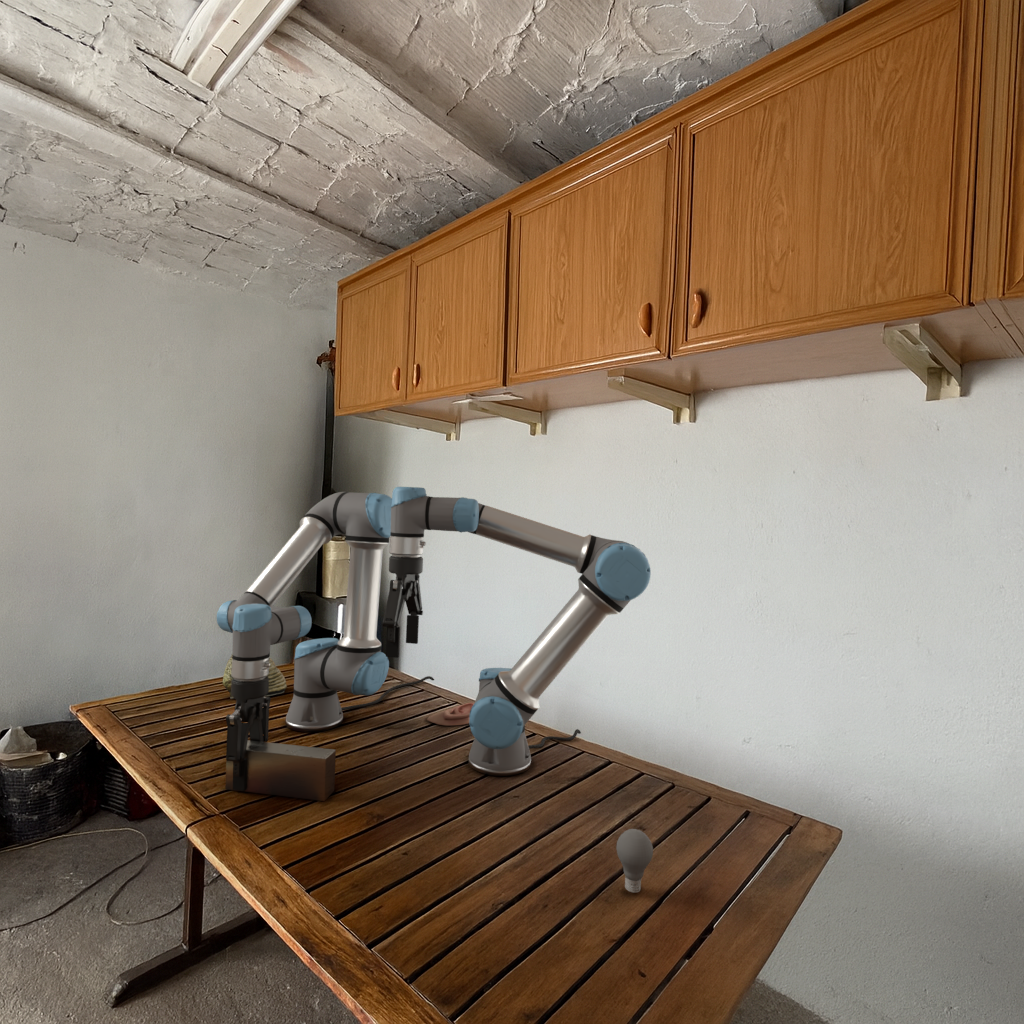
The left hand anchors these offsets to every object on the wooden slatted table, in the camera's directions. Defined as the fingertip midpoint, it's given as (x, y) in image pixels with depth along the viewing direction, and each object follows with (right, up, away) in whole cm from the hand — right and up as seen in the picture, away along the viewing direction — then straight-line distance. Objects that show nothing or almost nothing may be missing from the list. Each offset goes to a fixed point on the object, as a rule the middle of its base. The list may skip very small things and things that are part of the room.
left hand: (246, 783), depth 137 cm
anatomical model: (+40, -2, +46) cm, 61 cm away
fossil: (-23, +2, +61) cm, 65 cm away
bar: (+8, -1, -1) cm, 8 cm away
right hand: (+33, +28, +5) cm, 43 cm away
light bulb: (+78, -5, -31) cm, 84 cm away
